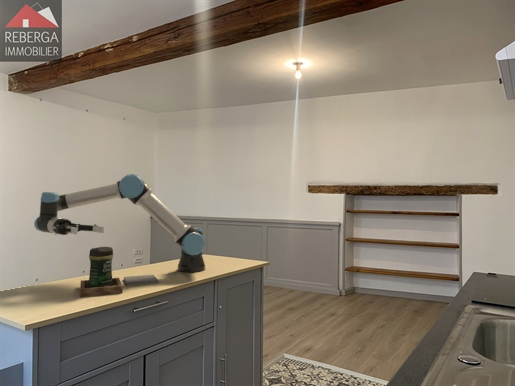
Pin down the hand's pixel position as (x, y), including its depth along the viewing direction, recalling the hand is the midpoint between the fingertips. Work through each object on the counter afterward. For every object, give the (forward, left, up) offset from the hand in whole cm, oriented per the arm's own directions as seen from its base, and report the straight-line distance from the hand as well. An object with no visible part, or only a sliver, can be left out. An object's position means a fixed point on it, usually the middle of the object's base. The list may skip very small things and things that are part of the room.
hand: (90, 230), depth 170 cm
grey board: (-22, -4, -25) cm, 34 cm away
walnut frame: (-4, +7, -25) cm, 27 cm away
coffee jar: (-4, +7, -25) cm, 27 cm away
